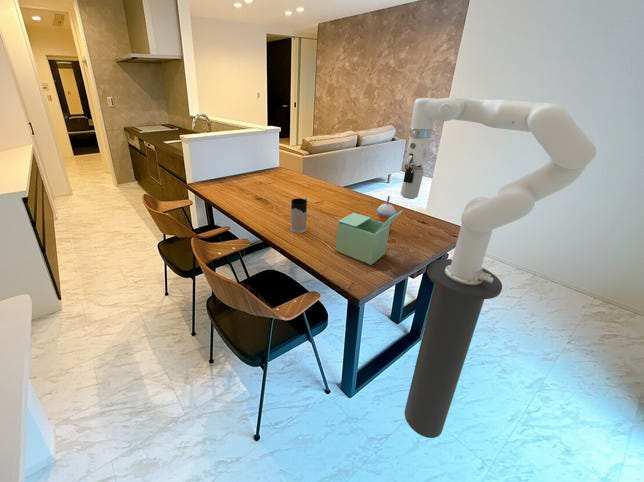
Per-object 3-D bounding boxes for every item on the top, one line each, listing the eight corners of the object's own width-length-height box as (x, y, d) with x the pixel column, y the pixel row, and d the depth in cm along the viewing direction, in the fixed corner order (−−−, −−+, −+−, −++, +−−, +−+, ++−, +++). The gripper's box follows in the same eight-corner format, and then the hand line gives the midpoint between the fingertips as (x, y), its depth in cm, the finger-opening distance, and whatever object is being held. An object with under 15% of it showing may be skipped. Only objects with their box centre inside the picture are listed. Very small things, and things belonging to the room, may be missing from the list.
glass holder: (286, 230, 148) (287, 202, 141) (298, 219, 159) (298, 193, 152) (303, 234, 144) (304, 206, 137) (313, 222, 155) (314, 195, 149)
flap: (390, 223, 121) (390, 223, 121) (375, 232, 113) (376, 233, 112) (402, 209, 116) (403, 209, 115) (388, 218, 107) (389, 219, 107)
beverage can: (399, 197, 117) (405, 168, 112) (401, 192, 123) (407, 164, 118) (416, 200, 115) (424, 170, 110) (417, 195, 120) (424, 166, 115)
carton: (385, 253, 126) (390, 223, 121) (371, 265, 118) (375, 232, 112) (350, 240, 137) (353, 212, 132) (335, 250, 129) (337, 220, 123)
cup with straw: (371, 230, 147) (376, 197, 139) (377, 223, 154) (382, 191, 146) (390, 235, 142) (396, 201, 134) (395, 228, 149) (401, 195, 141)
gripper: (421, 137, 101) (412, 187, 108) (439, 132, 112) (429, 178, 119) (399, 135, 106) (392, 183, 113) (419, 130, 117) (411, 175, 124)
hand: (411, 180), depth 116 cm, fingers closed on beverage can, 6 cm apart
